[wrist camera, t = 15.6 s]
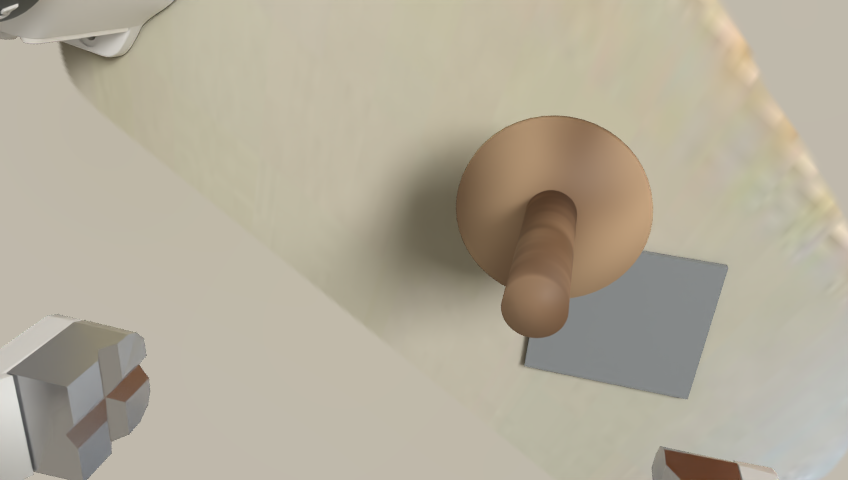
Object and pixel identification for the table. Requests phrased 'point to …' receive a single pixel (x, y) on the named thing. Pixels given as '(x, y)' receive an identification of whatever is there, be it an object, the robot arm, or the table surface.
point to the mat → (638, 327)
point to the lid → (553, 216)
